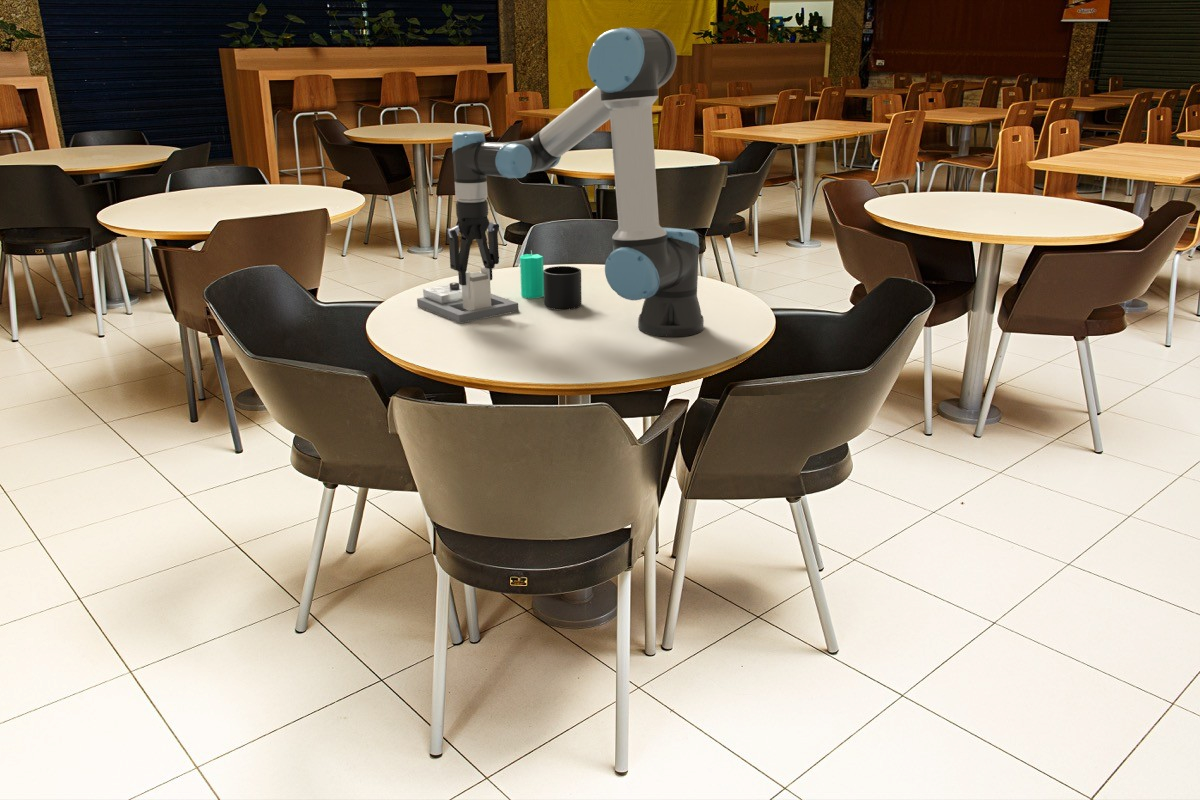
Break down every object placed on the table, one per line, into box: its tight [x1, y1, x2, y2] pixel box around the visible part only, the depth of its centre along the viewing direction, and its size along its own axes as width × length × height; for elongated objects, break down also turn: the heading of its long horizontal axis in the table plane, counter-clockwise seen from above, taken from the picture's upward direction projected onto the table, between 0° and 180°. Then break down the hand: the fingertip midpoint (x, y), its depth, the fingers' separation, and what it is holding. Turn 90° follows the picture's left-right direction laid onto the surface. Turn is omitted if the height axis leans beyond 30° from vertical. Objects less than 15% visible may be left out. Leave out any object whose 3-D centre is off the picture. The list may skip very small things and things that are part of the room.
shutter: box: [422, 282, 463, 304], centre depth 234 cm, size 9×13×3 cm
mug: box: [543, 265, 583, 311], centre depth 234 cm, size 9×12×9 cm
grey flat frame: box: [416, 293, 520, 324], centre depth 231 cm, size 20×17×2 cm
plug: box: [463, 271, 492, 311], centre depth 227 cm, size 5×5×8 cm
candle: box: [519, 250, 544, 299], centre depth 241 cm, size 6×6×12 cm
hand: (476, 295), depth 227 cm, fingers closed on plug, 5 cm apart
